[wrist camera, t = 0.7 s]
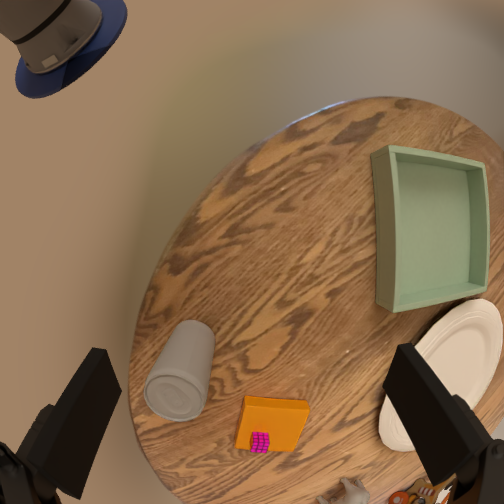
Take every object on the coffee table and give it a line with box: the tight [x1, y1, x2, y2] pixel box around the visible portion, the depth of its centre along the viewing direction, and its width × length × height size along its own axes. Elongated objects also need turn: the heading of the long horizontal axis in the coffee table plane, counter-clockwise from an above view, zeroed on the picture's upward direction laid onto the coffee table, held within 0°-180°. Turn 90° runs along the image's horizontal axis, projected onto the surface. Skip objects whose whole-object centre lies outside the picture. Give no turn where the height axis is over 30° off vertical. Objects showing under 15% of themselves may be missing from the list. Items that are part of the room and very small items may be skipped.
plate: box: [378, 298, 503, 452], centre depth 31 cm, size 29×29×2 cm
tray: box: [370, 145, 490, 313], centre depth 27 cm, size 18×18×4 cm
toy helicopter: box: [389, 473, 456, 504], centre depth 29 cm, size 8×21×14 cm, turn 143°
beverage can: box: [144, 320, 215, 422], centre depth 23 cm, size 5×5×12 cm
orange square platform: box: [234, 396, 310, 453], centre depth 29 cm, size 8×8×4 cm
